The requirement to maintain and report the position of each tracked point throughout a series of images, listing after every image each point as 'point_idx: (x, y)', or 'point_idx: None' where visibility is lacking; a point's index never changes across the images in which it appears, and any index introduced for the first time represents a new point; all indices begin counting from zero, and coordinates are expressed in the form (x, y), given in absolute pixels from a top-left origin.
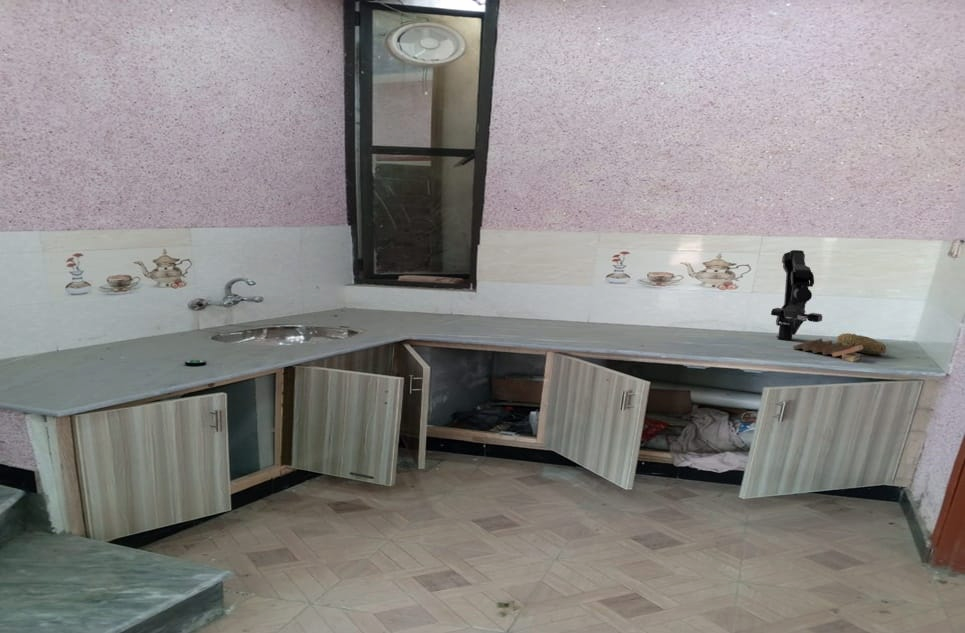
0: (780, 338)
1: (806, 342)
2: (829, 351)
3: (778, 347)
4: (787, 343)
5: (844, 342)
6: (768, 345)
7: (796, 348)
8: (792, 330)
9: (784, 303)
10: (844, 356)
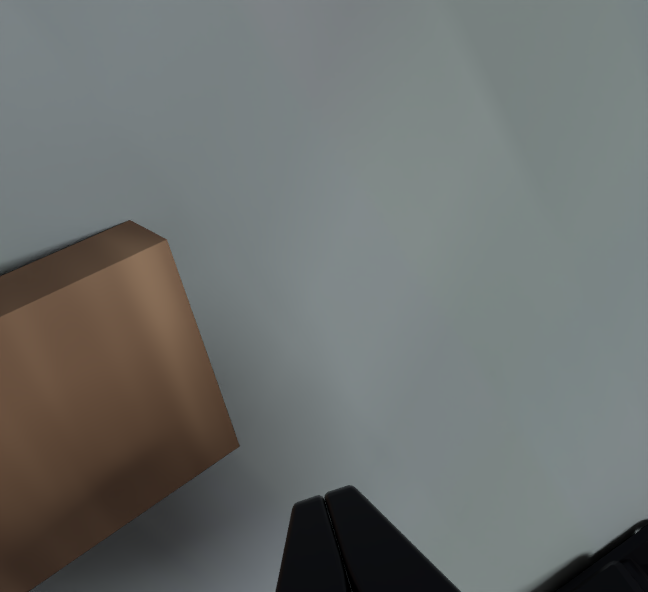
0: (645, 546)
1: (34, 535)
2: None
3: (413, 72)
4: (485, 476)
5: None
6: (614, 26)
7: (87, 246)
8: (384, 579)
9: None
10: None
